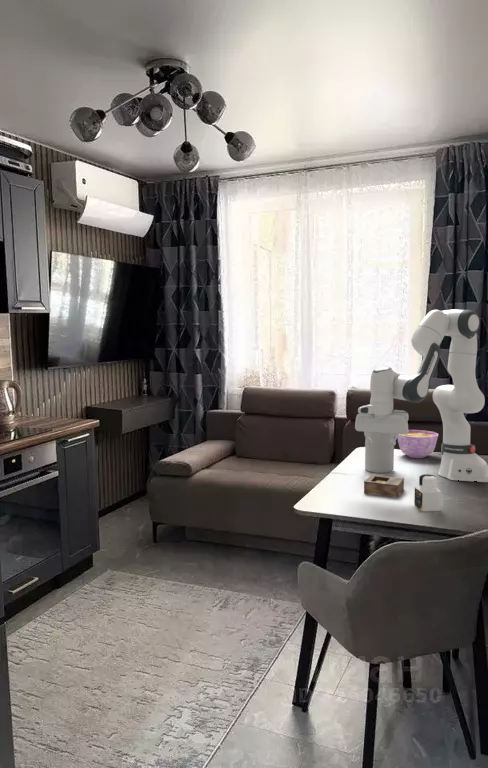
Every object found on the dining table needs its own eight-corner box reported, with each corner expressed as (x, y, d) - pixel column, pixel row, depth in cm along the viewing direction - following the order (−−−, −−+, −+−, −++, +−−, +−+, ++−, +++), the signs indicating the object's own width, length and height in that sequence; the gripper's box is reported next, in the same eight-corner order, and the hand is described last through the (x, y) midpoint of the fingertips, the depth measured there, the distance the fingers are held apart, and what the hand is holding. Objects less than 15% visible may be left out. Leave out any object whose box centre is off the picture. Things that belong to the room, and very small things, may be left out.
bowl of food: (387, 454, 295) (388, 431, 294) (420, 450, 302) (421, 428, 301) (412, 462, 277) (412, 438, 275) (446, 458, 284) (447, 435, 282)
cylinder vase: (383, 465, 271) (384, 412, 268) (398, 472, 259) (400, 416, 256) (359, 468, 267) (360, 414, 264) (374, 474, 255) (375, 418, 253)
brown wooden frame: (403, 489, 232) (403, 478, 231) (397, 497, 222) (397, 485, 221) (371, 485, 237) (371, 474, 237) (363, 492, 228) (364, 481, 227)
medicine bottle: (414, 505, 211) (414, 473, 210) (433, 505, 212) (433, 472, 211) (421, 511, 204) (422, 478, 203) (441, 511, 205) (442, 477, 204)
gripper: (410, 409, 225) (409, 444, 227) (358, 406, 234) (358, 440, 236) (407, 411, 220) (406, 447, 221) (354, 408, 229) (353, 443, 230)
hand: (381, 443), depth 228 cm, fingers open, 8 cm apart
